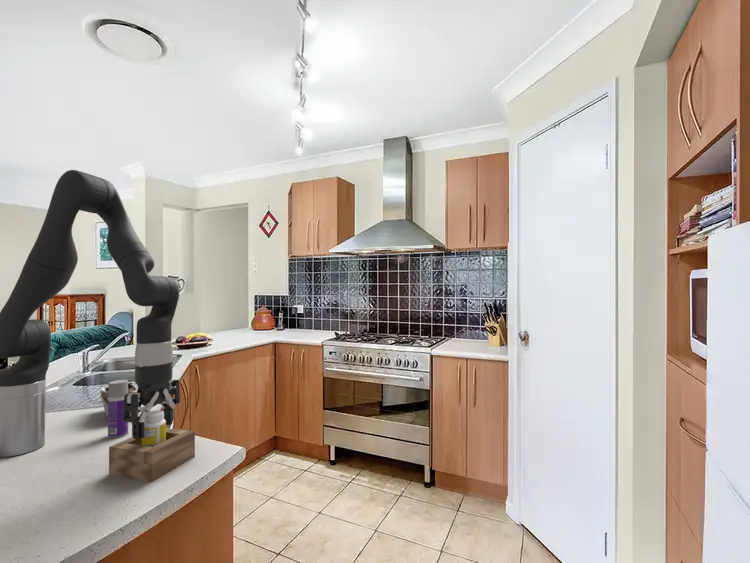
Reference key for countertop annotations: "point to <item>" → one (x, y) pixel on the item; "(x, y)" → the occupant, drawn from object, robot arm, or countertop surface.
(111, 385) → the container
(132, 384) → the decorative box
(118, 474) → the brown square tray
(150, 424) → the supplement bottle
